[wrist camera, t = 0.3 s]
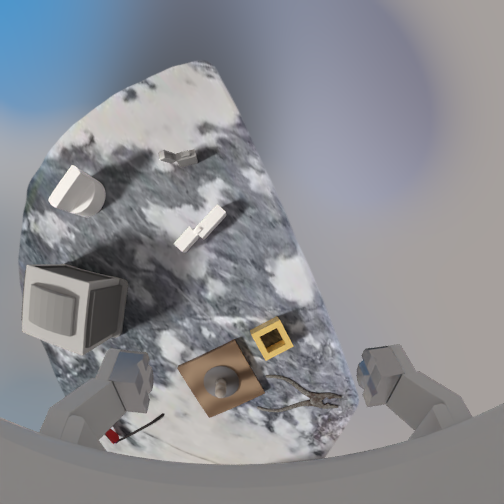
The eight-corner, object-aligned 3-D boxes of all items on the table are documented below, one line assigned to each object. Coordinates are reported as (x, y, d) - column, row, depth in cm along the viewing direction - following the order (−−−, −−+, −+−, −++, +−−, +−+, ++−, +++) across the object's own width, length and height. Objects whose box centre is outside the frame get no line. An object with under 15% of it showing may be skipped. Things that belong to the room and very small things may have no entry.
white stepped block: (229, 198, 64) (229, 192, 59) (238, 250, 64) (239, 249, 58) (161, 210, 63) (155, 205, 57) (169, 262, 63) (163, 262, 57)
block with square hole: (289, 341, 64) (293, 346, 60) (263, 355, 63) (265, 360, 59) (276, 316, 64) (279, 319, 60) (250, 330, 63) (251, 334, 59)
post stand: (264, 390, 63) (268, 407, 54) (209, 414, 62) (207, 433, 53) (234, 339, 63) (235, 350, 54) (178, 365, 62) (171, 379, 53)
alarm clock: (55, 316, 60) (10, 330, 42) (61, 262, 61) (15, 262, 42) (121, 337, 61) (86, 361, 43) (129, 280, 62) (93, 286, 43)
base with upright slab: (89, 224, 61) (63, 217, 49) (66, 202, 61) (39, 192, 49) (112, 193, 62) (90, 179, 50) (88, 172, 62) (64, 156, 50)
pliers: (258, 375, 62) (344, 371, 64) (258, 374, 63) (343, 370, 65) (257, 413, 62) (340, 407, 63) (256, 411, 63) (338, 406, 64)
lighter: (196, 155, 64) (192, 142, 56) (198, 163, 64) (194, 150, 56) (165, 163, 63) (157, 151, 55) (167, 170, 63) (158, 159, 55)
